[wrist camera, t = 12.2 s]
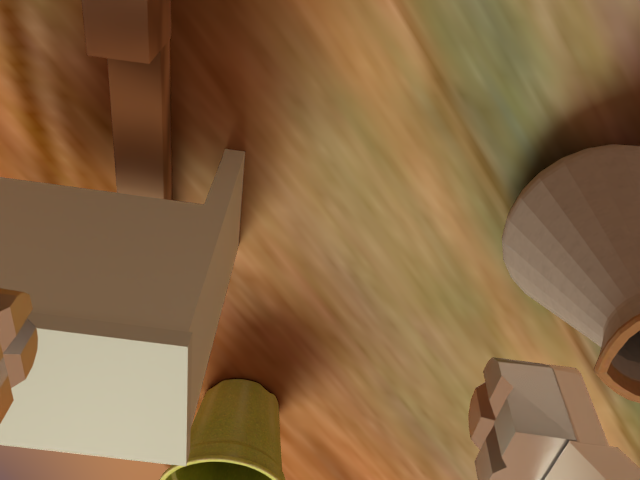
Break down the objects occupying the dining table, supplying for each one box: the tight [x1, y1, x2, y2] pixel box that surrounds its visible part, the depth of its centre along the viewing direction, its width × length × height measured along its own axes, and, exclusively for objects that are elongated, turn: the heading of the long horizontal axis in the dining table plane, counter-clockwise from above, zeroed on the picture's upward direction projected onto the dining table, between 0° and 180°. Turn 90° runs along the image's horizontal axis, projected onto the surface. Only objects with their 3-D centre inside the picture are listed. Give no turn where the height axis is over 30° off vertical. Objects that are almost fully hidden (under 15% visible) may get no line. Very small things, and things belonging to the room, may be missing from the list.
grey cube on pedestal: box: [0, 149, 245, 466], centre depth 32 cm, size 7×12×17 cm, turn 82°
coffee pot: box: [502, 144, 640, 403], centre depth 35 cm, size 21×12×15 cm, turn 20°
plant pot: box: [160, 379, 285, 480], centre depth 46 cm, size 9×9×9 cm
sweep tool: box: [82, 0, 172, 200], centre depth 33 cm, size 18×3×4 cm, turn 173°
